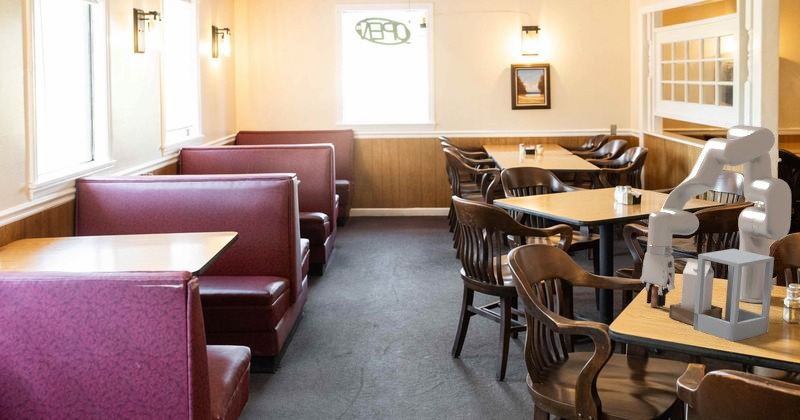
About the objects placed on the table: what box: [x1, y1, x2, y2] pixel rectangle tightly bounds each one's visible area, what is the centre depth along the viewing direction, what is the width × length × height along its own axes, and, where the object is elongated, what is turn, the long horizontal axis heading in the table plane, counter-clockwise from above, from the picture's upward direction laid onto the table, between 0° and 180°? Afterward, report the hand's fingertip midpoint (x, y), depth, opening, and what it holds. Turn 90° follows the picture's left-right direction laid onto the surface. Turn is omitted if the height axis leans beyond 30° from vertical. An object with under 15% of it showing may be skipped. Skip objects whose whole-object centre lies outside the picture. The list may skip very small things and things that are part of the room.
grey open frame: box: [692, 248, 775, 342], centre depth 252 cm, size 16×14×23 cm
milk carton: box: [680, 258, 715, 311], centre depth 263 cm, size 7×7×19 cm
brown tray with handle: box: [650, 285, 723, 326], centre depth 269 cm, size 12×23×6 cm, turn 32°
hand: (655, 303), depth 278 cm, fingers closed on brown tray with handle, 3 cm apart
